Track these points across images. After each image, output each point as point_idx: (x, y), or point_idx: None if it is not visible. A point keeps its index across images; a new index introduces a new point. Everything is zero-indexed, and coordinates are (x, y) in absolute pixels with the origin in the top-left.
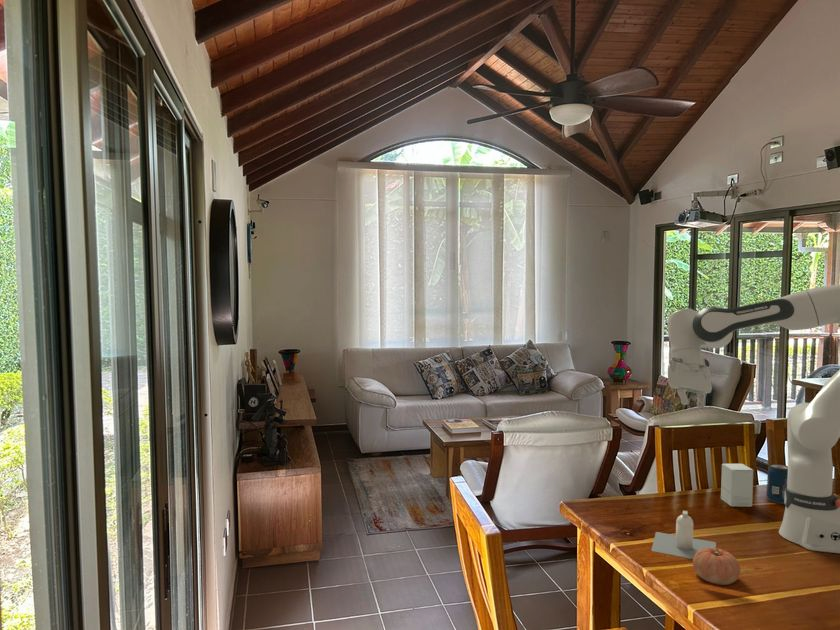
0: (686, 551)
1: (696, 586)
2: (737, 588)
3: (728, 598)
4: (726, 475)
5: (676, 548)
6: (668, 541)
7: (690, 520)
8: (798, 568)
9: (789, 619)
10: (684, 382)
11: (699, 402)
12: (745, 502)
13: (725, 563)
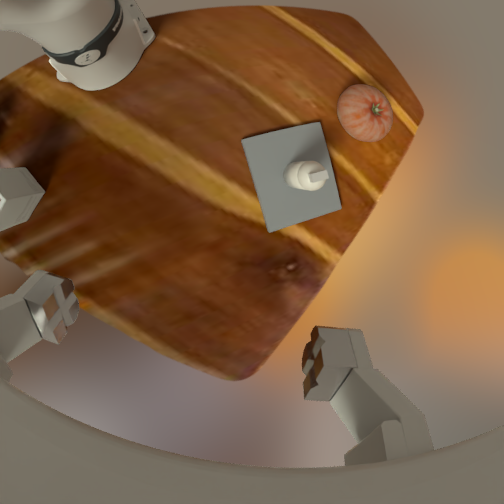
0: None
1: None
2: None
3: None
4: (7, 215)
5: None
6: (293, 201)
7: (319, 164)
8: (237, 35)
9: (376, 47)
10: (486, 480)
11: (54, 315)
12: (28, 174)
13: (386, 98)
